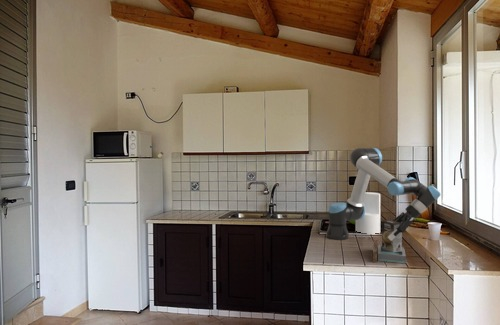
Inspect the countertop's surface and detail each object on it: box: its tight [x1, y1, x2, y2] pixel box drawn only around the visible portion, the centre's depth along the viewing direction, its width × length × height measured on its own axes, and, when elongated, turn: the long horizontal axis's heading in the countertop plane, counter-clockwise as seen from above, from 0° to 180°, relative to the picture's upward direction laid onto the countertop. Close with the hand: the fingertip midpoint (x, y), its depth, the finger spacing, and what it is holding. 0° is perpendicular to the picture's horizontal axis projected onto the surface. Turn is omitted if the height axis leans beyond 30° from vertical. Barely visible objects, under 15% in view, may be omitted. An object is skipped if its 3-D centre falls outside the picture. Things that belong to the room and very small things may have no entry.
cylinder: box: [355, 191, 381, 235], centre depth 257 cm, size 17×17×28 cm
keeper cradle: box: [377, 244, 407, 264], centre depth 198 cm, size 14×17×4 cm
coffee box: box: [381, 219, 403, 252], centre depth 197 cm, size 9×6×16 cm
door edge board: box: [372, 239, 379, 263], centre depth 201 cm, size 2×24×6 cm, turn 159°
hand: (386, 236), depth 197 cm, fingers closed on coffee box, 10 cm apart
